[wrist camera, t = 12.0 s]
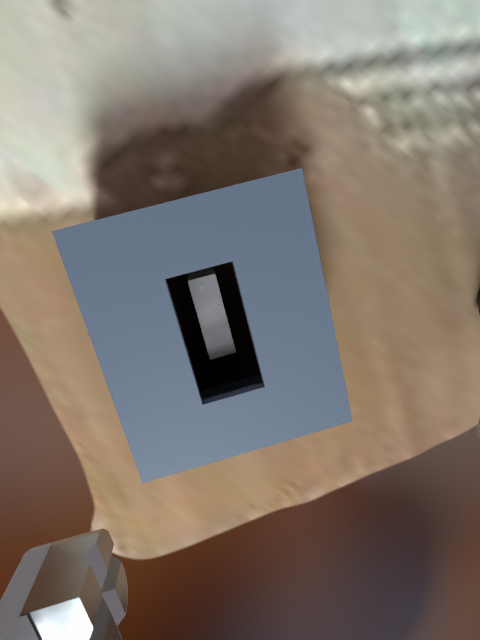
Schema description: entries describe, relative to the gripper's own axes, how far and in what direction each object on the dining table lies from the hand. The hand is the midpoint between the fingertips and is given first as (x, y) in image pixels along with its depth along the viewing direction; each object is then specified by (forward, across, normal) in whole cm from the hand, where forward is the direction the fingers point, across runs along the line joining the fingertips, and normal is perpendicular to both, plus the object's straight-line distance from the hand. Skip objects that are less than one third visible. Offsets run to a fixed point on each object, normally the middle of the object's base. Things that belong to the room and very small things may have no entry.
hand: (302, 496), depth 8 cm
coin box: (+26, +1, +1) cm, 26 cm away
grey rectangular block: (+26, +1, +1) cm, 26 cm away
